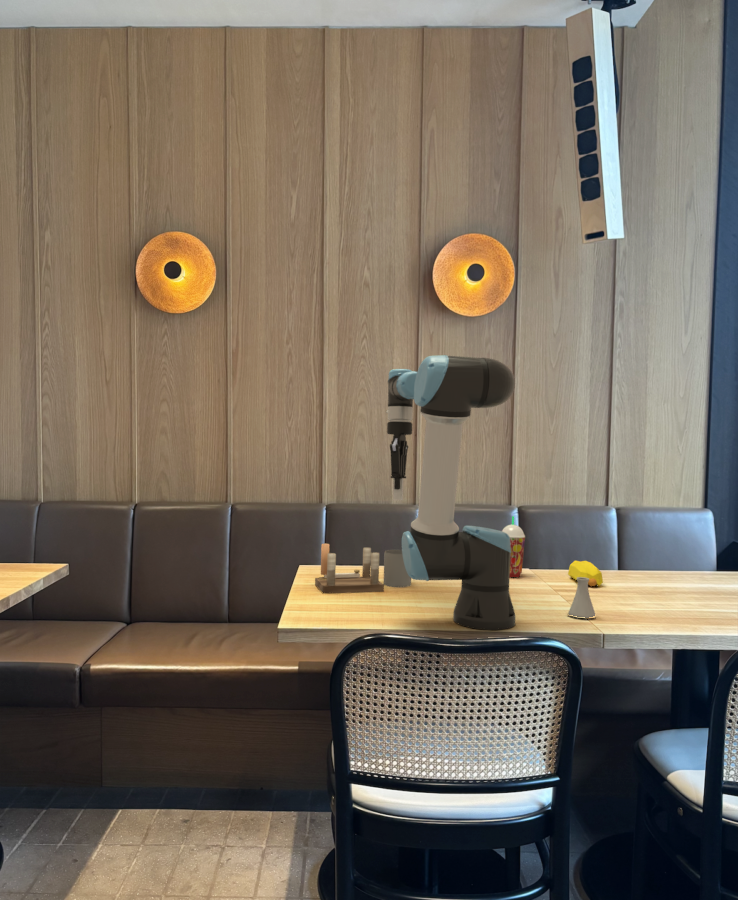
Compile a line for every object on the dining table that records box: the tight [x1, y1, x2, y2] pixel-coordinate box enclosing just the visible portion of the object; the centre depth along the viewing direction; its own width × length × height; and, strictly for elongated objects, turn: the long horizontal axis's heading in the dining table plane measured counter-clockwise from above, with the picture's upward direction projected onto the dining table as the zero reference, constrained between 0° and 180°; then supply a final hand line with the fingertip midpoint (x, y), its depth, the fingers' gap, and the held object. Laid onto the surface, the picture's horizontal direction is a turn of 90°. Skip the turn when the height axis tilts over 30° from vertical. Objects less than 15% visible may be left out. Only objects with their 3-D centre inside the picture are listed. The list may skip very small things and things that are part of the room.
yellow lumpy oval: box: [567, 560, 604, 587], centre depth 224 cm, size 18×7×8 cm
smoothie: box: [501, 515, 526, 578], centre depth 230 cm, size 8×8×20 cm
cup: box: [383, 549, 412, 588], centre depth 212 cm, size 8×8×10 cm
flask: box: [567, 577, 596, 618], centre depth 179 cm, size 7×7×10 cm
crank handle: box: [320, 543, 361, 578], centre depth 209 cm, size 2×12×10 cm, turn 106°
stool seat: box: [314, 547, 385, 594], centre depth 205 cm, size 12×18×11 cm
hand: (397, 500), depth 207 cm, fingers closed
